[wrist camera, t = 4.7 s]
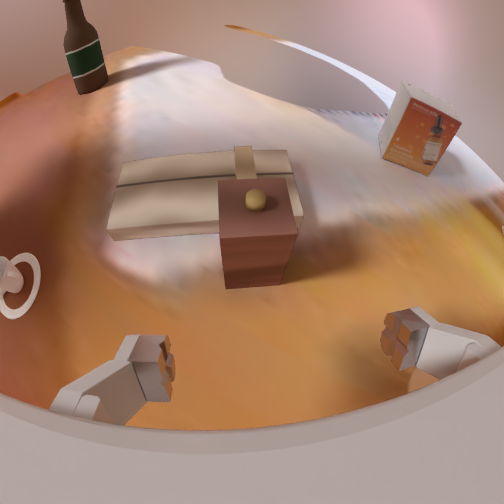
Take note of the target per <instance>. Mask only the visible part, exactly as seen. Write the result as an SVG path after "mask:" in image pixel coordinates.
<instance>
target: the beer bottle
mask: <svg viewBox="0 0 504 504" xmlns="http://www.w3.org/2000/svg"><path fill="white" fill-rule="evenodd" d="M63 2H65V11H66V19H67V32H66V35H65V37H64V49H65V53H66V57H67V60H68V64H69V67H70V70H71V73H72V76H73V80H74V83H75V86H76V88H77V91H78V93H79V94H80V95H81V94H86V93H90V92H92V91H94V90H96V89H98V88H100V87H102V86H103V85H104V84H105V83H106V82H107V81H108V75H107V71H106V67H105V63H104V59H103V55H102V50H101V46H100V42H99V38H98V34H97V31H96V30H95V28H94V27H93V26H92V25H91V24H89V23H88V22H87V21H86V19H85V17H84V13H83V9H82V5H81V2H80V0H63Z"/></svg>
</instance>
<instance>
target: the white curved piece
mask: <svg viewBox="0 0 504 504" xmlns="http://www.w3.org/2000/svg"><path fill="white" fill-rule="evenodd" d="M23 261H25V262H28V263H29V264H30V265H31V266H32V268H33V272H34V284H33V288H32V291H31V294H30V296H29V298H28V300H27V301H26V302H25V304H24V305H23V306H21V307H20V308H18V309H10V308H8V307H7V306H6V304H5V302H4V299H3V295H4V294H5V292H6V291H8V292H11V293H18V292H19V291H20V290H21V289H22V287H23V284H24V279H23V276H22V274H21V273H20V271H19V270H18V269H17V268H16V267H15V266H14V265H16V264H17V263H19V262H23ZM40 279H41V271H40V265H39V262H38V260H37V258H36V257H35V256H34V255H32V254H30V253H21V254H19V255H17V256H15V257H14V258H13V259H12V260H11V261H9V260H8V259H7V258H6V257H4V256H1V257H0V311H1V312H2V314H3V315H4V316H5V317H7V318H9V319H17V318H19V317H21V316H23V315H24V314H25V313H26V312H27V311H28V310H29V309H30V307H31V306H32V304H33V302H34V300H35V298H36V296H37V293H38V290H39V286H40Z"/></svg>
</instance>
